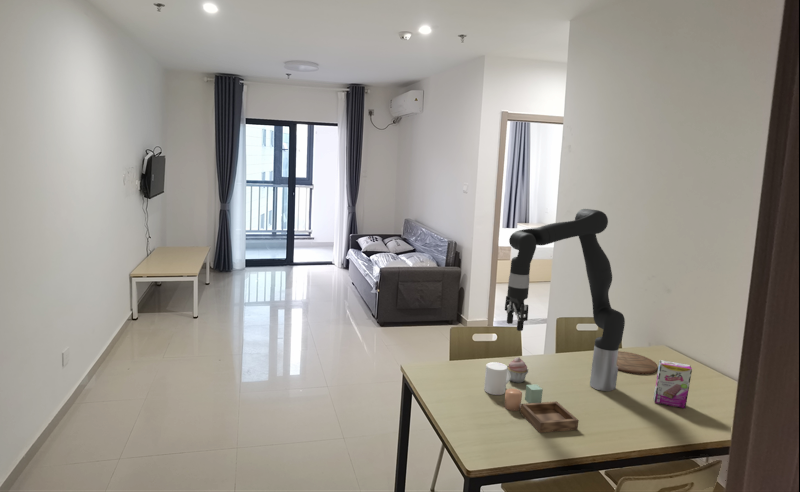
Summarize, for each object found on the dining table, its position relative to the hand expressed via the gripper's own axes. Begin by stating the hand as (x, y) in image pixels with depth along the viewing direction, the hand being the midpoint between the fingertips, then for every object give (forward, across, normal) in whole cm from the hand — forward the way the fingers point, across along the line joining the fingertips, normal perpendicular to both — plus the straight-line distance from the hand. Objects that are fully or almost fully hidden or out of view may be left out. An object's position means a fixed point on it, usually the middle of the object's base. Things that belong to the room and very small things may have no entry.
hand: (514, 326), depth 206 cm
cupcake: (+28, +15, -11) cm, 34 cm away
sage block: (+28, -5, -8) cm, 30 cm away
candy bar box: (+28, -14, -62) cm, 70 cm away
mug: (+28, +7, +1) cm, 29 cm away
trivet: (+29, +26, -73) cm, 83 cm away
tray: (+28, -20, -6) cm, 35 cm away
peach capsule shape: (+28, -8, +2) cm, 29 cm away
